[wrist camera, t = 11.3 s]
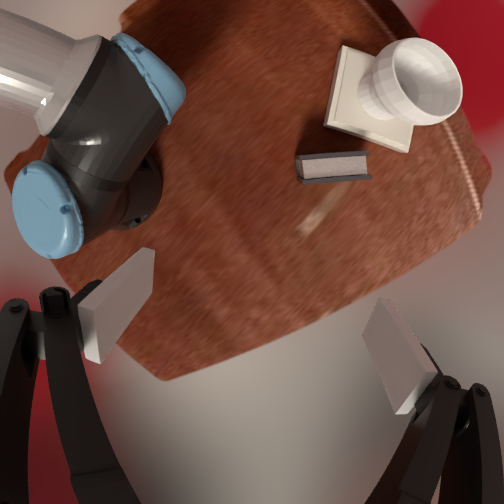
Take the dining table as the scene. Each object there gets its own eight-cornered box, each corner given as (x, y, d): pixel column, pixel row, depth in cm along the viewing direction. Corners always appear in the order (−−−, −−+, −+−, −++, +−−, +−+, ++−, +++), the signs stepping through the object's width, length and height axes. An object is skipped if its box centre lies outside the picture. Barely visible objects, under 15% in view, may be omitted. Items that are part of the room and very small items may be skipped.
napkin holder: (297, 180, 44) (302, 184, 37) (294, 155, 43) (299, 155, 36) (357, 174, 43) (371, 179, 36) (354, 150, 42) (369, 150, 35)
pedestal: (322, 126, 41) (328, 123, 37) (338, 51, 36) (344, 43, 32) (399, 152, 41) (410, 152, 37) (412, 80, 36) (422, 76, 33)
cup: (366, 53, 32) (407, 16, 18) (419, 93, 34) (475, 78, 20) (335, 102, 36) (370, 78, 22) (392, 143, 37) (447, 143, 23)
